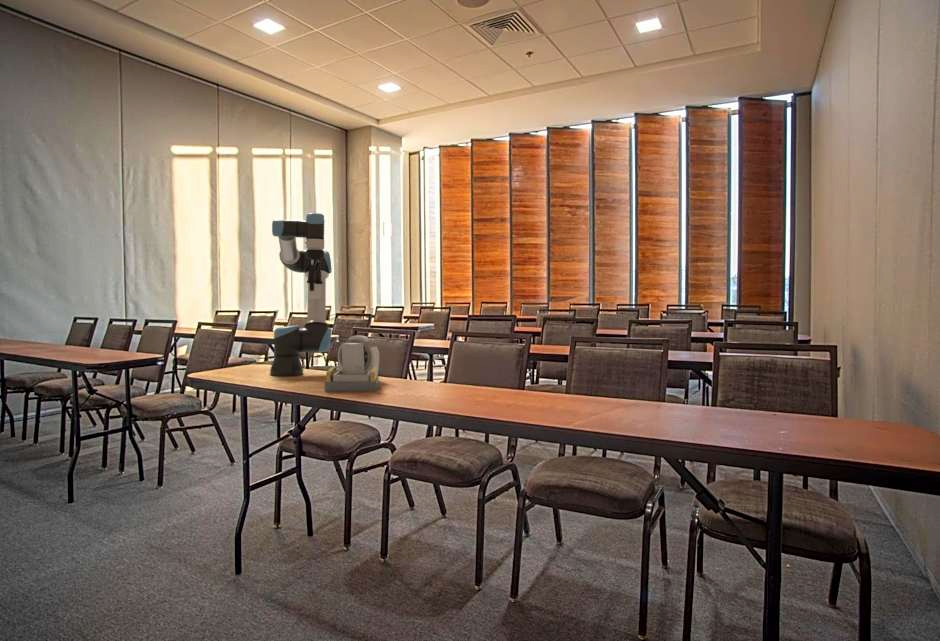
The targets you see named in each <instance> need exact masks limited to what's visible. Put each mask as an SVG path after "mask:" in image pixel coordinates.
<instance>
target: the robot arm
mask: <svg viewBox="0 0 940 641" xmlns="http://www.w3.org/2000/svg"><path fill="white" fill-rule="evenodd" d="M305 217H306V218H305V220H296V219H295V220H294V219H273V220H272V222H271V223H272V224H271V232H272V234H271V235H272V236H273V237H277V238H278V243H279V247H280V248H279V249H280V251H279V254H278V255H279V256H278V257H279V260H280V262H281V264H282V265H283V266H284V267H285V268H287V269H288V270H290V271H292V272H295V273H300V274H301V273H305V274H304V275H305V278H307V280H306V283H307V321H306V323H305V324H304V327H303V328H301V326H300V325H299V324H297V325H286V326H281V327H277V328H275V329H274V331H273V332H274V334H273V339H274V340H273V343H274V344H273V361H272V364H271V367H270V370H269V372H270V373H269V374H270V376H275V377H290V376H293V377H294V376H300V375H303V374H304V368H303V364H302V362H301V359H300V353H324V352H325V353H326V352H328V351H329V350H330V346H331V340H332V339H331V338H332V331H333V329H332V328H331V327H330V326H329V324H328V322H326V317H327V316H326V312H327V311H326V306H327V305H326V304H327V301H326V300H327V297H326V296H327V294H326V290H327V289H326V288H327V286H326V284H327V283H326V281H327V279H328V278H329V276H330V275H329V274H332V269H333V268H332V260H331V255H330V252H329V251H327V250H325V215H324V214H322V213H320V212H318V213H317V212H310V213H307V214H306V216H305ZM297 238H302V239H303V238H304V239H305V238H306V241H305V242H304V244H305V245H306V246H305V247H306V249H298V248H297V247H298V246H297Z"/></svg>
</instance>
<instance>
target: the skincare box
mask: <svg viewBox="0 0 940 641" xmlns="http://www.w3.org/2000/svg"><path fill="white" fill-rule="evenodd" d="M341 346H342V370H343V375H364V349H363V343H345V342H344V343H343V342H342V343H341Z"/></svg>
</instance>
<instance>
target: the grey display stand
mask: <svg viewBox="0 0 940 641" xmlns="http://www.w3.org/2000/svg"><path fill="white" fill-rule="evenodd" d="M325 372H326V376H325V378H326V379H325V381H324V392H325V393H326V392H327V393H328V392H329V393H330V392H335V393H337V392H338V393H341V392H343V393H353V392H354V393H357V392H358V393H361V392H363V393H365V392H366V393H370V392H369V391H374V393H375V391H376V392H377V390H378V388H379V375H378V374H377V367H373V369H372V371H364V375H343V371H339V370H337V366H331V367H330V368H329V369H328V370H327V371H325Z"/></svg>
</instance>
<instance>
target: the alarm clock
mask: <svg viewBox="0 0 940 641" xmlns="http://www.w3.org/2000/svg"><path fill="white" fill-rule="evenodd" d="M344 343H363V349H364V371H372V369H373V367H377V375H378V374H379V373H378V372H379V366H380V351H379V349H378V346H377V345H375V343H374V342H373V341H372V340H370V339H369V337H367V336H365V335H352V336H349V338H348V340H345V341H344ZM337 353H338V354H337V365H338V371H343V370H342V345H340V346H339V348H338V352H337Z"/></svg>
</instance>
